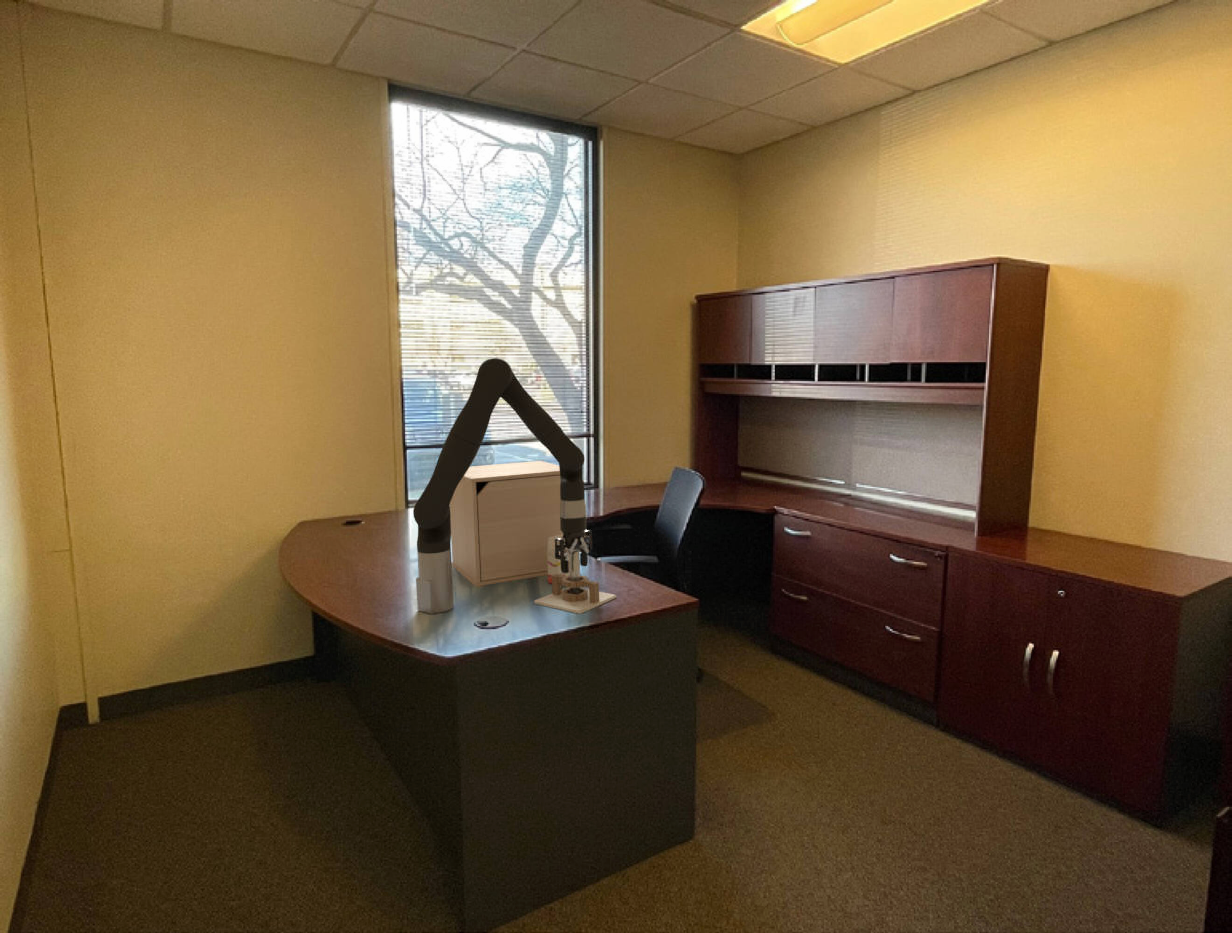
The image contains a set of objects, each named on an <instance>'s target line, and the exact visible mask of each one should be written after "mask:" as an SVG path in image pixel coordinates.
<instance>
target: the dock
mask: <svg viewBox="0 0 1232 933" xmlns="http://www.w3.org/2000/svg"><path fill="white" fill-rule="evenodd" d="M551 587H552V589H551V590H552V592H551V593H550V594H547V595H545V596H543V597H539V598H536V599H535V600H533V601H534V602H533V603H534V604H536V605H540V606H544V607H549V608H554V609H558V610H562V611H565V612H569V613H573V614H578V615H581V614H583V613H585V612H587V611H589V610H591V609H594V608H597V607H598V606H600V605H603V604H605V603H607V602H610V601H612V600H614V599H617V594H613V593H607V592H604V591H600V583H599V581H594V580H593V581H592V580H589V577H587V576H586V575H582V574H580V581H570V576H563V575H559V574H555V575H552V583H551ZM563 587H565V588H563ZM578 587H580V592H581V593H579V594H570V588H578Z"/></svg>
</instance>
